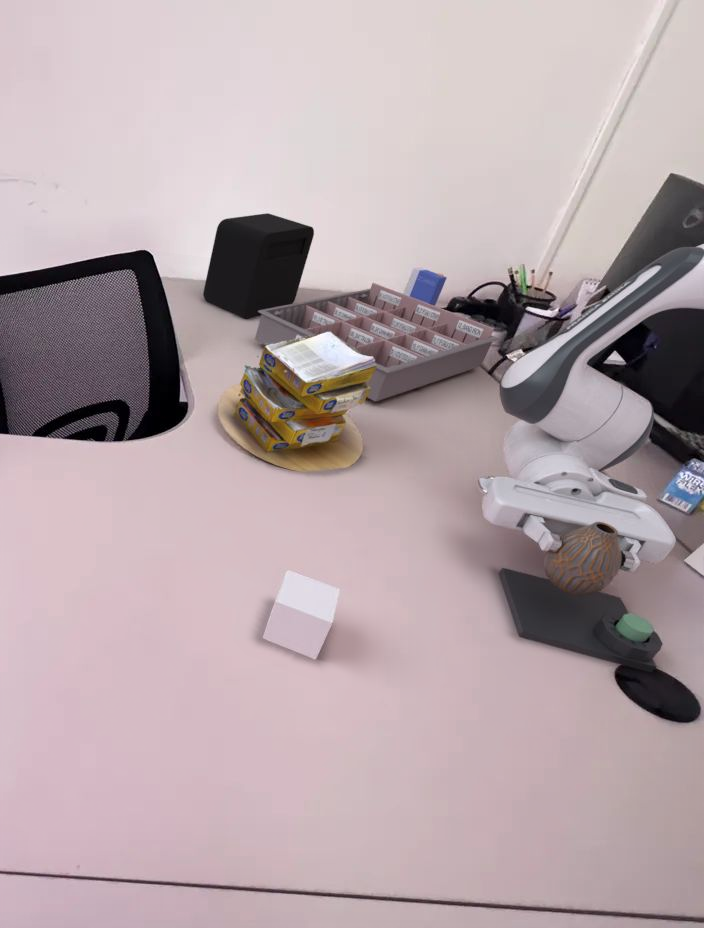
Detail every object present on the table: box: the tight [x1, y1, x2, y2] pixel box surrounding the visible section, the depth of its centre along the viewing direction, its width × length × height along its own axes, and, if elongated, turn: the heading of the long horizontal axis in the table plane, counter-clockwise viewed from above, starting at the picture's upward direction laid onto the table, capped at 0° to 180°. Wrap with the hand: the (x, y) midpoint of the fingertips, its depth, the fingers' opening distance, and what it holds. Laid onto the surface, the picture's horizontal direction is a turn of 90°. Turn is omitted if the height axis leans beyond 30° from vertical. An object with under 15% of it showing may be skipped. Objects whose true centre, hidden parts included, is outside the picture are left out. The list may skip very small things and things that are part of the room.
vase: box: [543, 522, 622, 595], centre depth 80 cm, size 7×7×9 cm
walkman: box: [402, 267, 448, 306], centre depth 169 cm, size 8×3×12 cm, turn 27°
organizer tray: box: [254, 282, 499, 403], centre depth 144 cm, size 32×40×10 cm
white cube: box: [262, 569, 341, 661], centre depth 76 cm, size 6×6×6 cm
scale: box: [498, 567, 664, 674], centre depth 83 cm, size 14×12×3 cm
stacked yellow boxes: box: [216, 332, 376, 473], centre depth 112 cm, size 25×25×17 cm
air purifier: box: [202, 213, 315, 320], centre depth 163 cm, size 20×15×20 cm
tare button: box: [615, 613, 655, 643], centre depth 78 cm, size 3×3×2 cm
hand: (591, 557), depth 79 cm, fingers closed on vase, 7 cm apart
